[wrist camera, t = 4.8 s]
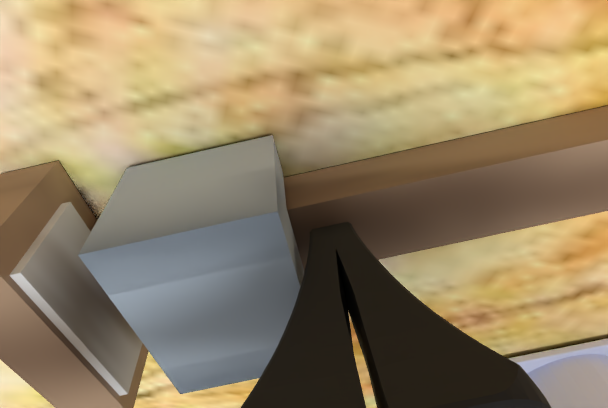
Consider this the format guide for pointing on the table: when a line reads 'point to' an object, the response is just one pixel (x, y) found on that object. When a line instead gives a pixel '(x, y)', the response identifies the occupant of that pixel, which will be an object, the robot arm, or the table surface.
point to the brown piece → (304, 217)
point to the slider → (201, 261)
